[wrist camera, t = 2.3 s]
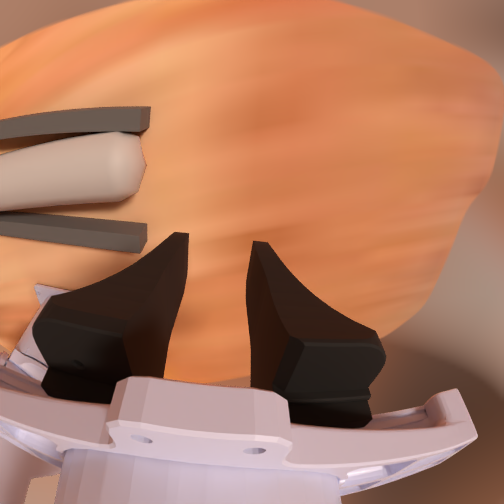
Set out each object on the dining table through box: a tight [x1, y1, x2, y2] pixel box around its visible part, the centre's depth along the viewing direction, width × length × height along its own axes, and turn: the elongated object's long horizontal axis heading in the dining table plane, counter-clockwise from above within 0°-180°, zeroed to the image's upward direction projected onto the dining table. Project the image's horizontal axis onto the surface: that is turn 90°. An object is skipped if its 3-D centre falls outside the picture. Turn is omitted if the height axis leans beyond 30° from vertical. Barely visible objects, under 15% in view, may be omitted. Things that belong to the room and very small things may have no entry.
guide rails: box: [0, 107, 151, 253], centre depth 17 cm, size 10×24×2 cm, turn 81°
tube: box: [0, 131, 147, 211], centre depth 16 cm, size 5×5×25 cm
